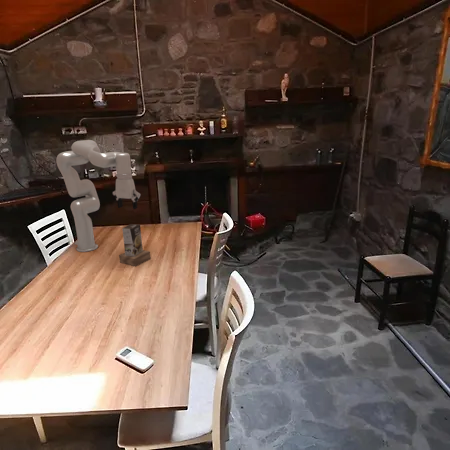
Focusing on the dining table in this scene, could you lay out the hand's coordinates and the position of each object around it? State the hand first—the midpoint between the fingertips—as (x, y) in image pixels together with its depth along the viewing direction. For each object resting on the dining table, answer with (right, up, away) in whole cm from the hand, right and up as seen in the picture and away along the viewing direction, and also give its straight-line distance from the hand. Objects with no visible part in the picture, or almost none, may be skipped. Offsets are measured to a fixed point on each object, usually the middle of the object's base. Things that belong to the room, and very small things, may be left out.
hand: (127, 207), depth 191 cm
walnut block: (+2, -30, +8) cm, 31 cm away
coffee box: (+2, -25, +6) cm, 26 cm away
